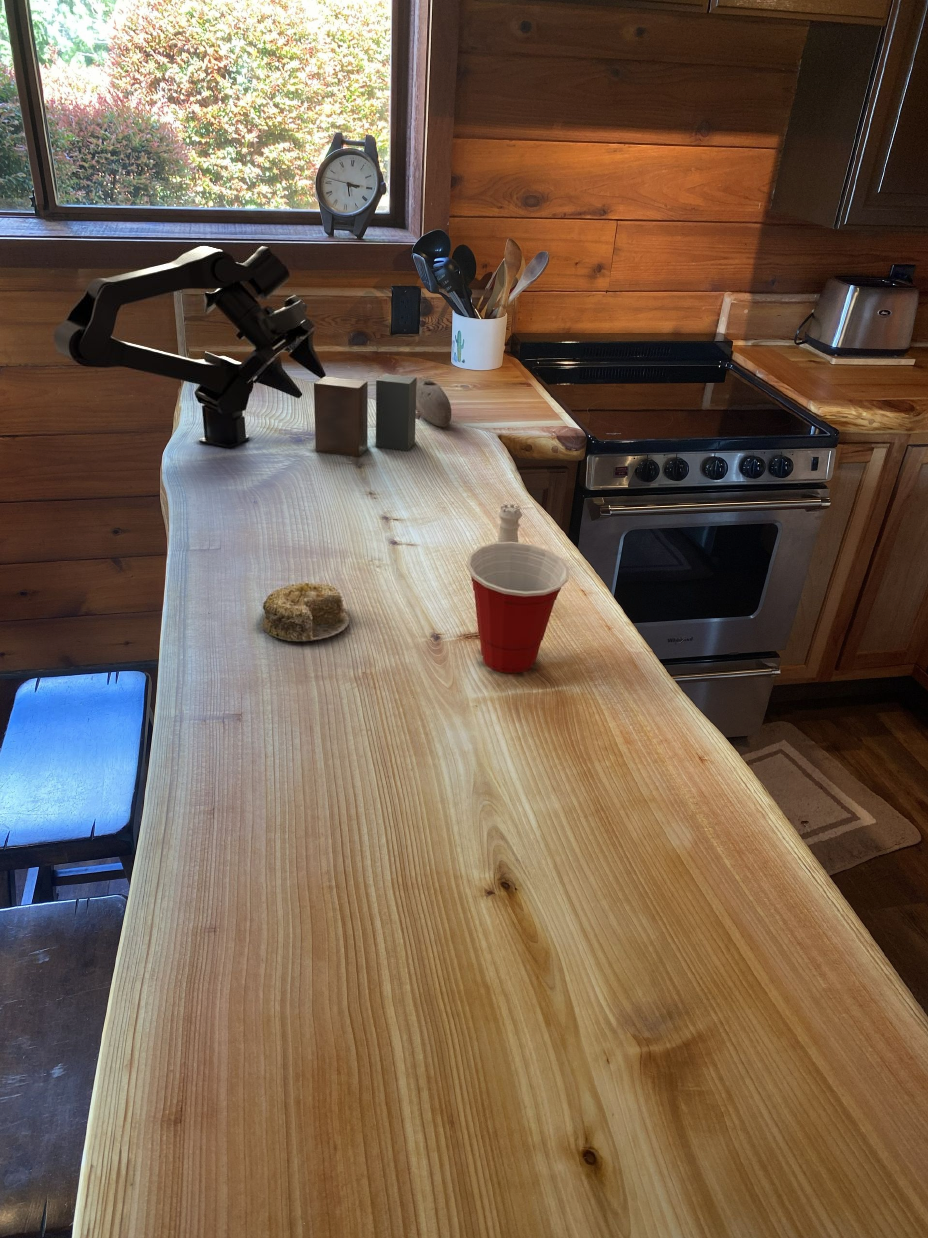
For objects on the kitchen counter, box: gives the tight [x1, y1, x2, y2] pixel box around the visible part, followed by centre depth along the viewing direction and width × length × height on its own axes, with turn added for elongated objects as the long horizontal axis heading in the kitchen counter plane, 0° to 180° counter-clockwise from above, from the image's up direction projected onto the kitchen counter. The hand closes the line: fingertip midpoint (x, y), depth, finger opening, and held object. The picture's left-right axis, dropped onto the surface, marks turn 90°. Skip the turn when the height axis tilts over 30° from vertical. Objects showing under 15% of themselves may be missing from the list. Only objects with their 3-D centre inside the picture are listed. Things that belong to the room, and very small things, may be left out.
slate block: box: [375, 373, 418, 452], centre depth 161 cm, size 6×5×12 cm
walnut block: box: [313, 376, 369, 458], centre depth 157 cm, size 8×5×12 cm, turn 78°
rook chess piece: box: [496, 503, 523, 543], centre depth 120 cm, size 4×4×8 cm
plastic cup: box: [466, 541, 570, 674], centre depth 96 cm, size 11×11×12 cm
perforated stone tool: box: [416, 378, 452, 428], centre depth 176 cm, size 15×5×7 cm, turn 20°
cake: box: [261, 582, 350, 642], centre depth 103 cm, size 10×10×5 cm
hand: (312, 386), depth 156 cm, fingers open, 9 cm apart
